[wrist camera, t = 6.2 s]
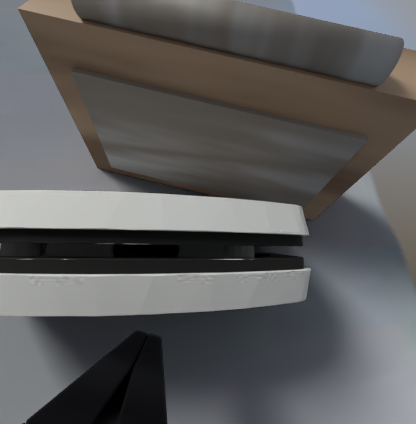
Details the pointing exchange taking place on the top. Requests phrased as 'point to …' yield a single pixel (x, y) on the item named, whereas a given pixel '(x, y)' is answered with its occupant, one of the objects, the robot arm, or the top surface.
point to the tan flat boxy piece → (227, 94)
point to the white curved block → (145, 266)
